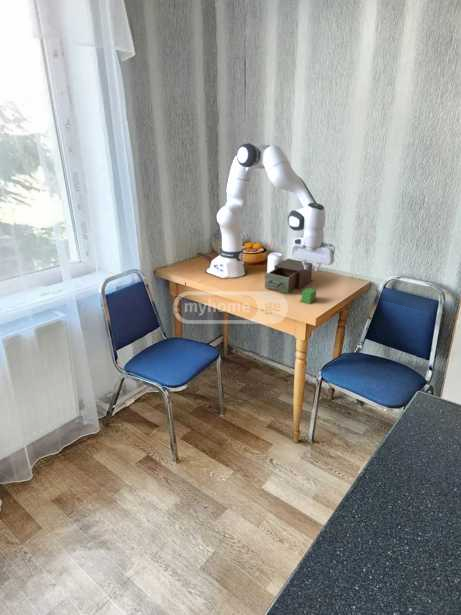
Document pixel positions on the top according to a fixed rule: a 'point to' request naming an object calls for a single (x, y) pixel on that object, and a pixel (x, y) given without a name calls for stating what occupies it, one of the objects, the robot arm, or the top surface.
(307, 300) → the green block
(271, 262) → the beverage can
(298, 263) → the cabinet
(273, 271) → the drawer
